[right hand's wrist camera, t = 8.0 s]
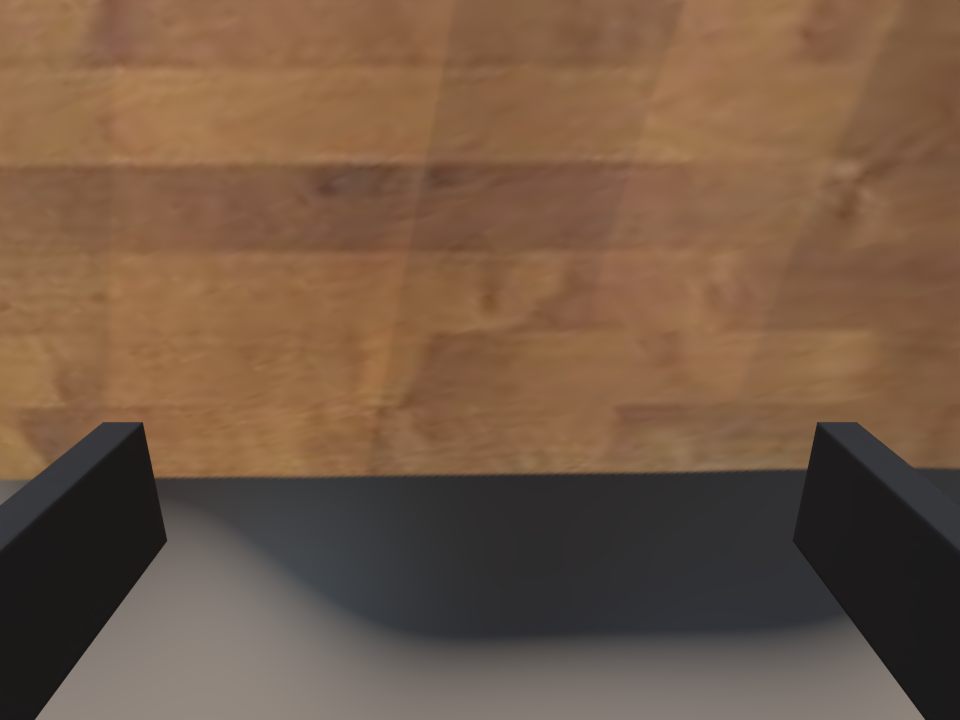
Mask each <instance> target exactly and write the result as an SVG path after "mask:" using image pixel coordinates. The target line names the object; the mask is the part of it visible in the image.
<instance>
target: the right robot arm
mask: <svg viewBox="0 0 960 720" xmlns="http://www.w3.org/2000/svg"><path fill="white" fill-rule="evenodd" d="M166 542H167V538H166V533H165V528H164V523H163V518H162V514H161V509H160V504H159V499H158V494H157V489H156V484H155V480H154V475H153V470H152V465H151V460H150V455H149V451H148V446H147V441H146V436H145V431H144V426H143V422H103V423H102V424H101V425H99V426H98V427H97V428H96V429H94V430H93V431H92V432H91V433H90V434H88V435H87V436H86V437H85V438H83V439H82V440H81V441H80V442H78V443H77V444H76V445H75V446H73V447H72V448H71V449H70V450H68V451H67V452H66V453H65V454H64V455H62V456H61V457H60V458H59V459H57V460H56V461H55V462H54V463H52V464H51V465H50V466H49V467H47V468H46V469H45V470H44V471H42V472H41V473H40V474H39V475H38V476H36V477H35V478H34V479H33V480H31V481H30V482H29V483H28V484H26V485H25V486H24V487H23V488H21V489H20V490H19V491H18V492H17V493H15V494H14V495H13V496H12V497H10V498H9V499H8V500H7V501H5V502H4V503H3V504H2V505H0V720H35V719H36V717H37V716H38V715H39V713H40V712H41V711H42V709H43V708H44V706H45V705H46V704H47V702H48V701H49V700H50V698H51V697H52V696H53V694H54V693H55V692H56V690H57V689H58V688H59V686H60V685H61V684H62V682H63V681H64V679H65V678H66V677H67V675H68V674H69V673H70V671H71V670H72V669H73V667H74V666H75V665H76V663H77V662H78V661H79V659H80V658H81V656H82V655H83V654H84V652H85V651H86V650H87V648H88V647H89V646H90V644H91V643H92V642H93V640H94V639H95V638H96V636H97V635H98V634H99V632H100V631H101V629H102V628H103V627H104V625H105V624H106V623H107V621H108V620H109V619H110V617H111V616H112V615H113V613H114V612H115V611H116V609H117V608H118V607H119V605H120V604H121V602H122V601H123V600H124V598H125V597H126V596H127V594H128V593H129V592H130V590H131V589H132V588H133V586H134V585H135V584H136V582H137V581H138V580H139V578H140V577H141V575H142V574H143V573H144V571H145V570H146V569H147V567H148V566H149V565H150V563H151V562H152V561H153V559H154V558H155V557H156V555H157V554H158V553H159V551H160V550H161V548H162V547H163V546H164V544H165V543H166ZM793 542H794V543H795V544H796V546H797V547H798V548H799V550H800V551H801V553H802V554H803V555H804V557H805V558H806V559H807V561H808V562H809V563H810V565H811V566H812V567H813V569H814V570H815V571H816V573H817V574H818V575H819V577H820V578H821V579H822V581H823V582H824V584H825V585H826V586H827V588H828V589H829V590H830V592H831V593H832V594H833V596H834V597H835V598H836V600H837V601H838V602H839V604H840V605H841V607H842V608H843V609H844V611H845V612H846V613H847V615H848V616H849V617H850V619H851V620H852V621H853V623H854V624H855V625H856V627H857V628H858V630H859V631H860V632H861V634H862V635H863V636H864V638H865V639H866V640H867V642H868V643H869V644H870V646H871V647H872V648H873V650H874V651H875V652H876V654H877V655H878V656H879V658H880V659H881V660H882V662H883V663H884V665H885V666H886V667H887V669H888V670H889V671H890V673H891V674H892V675H893V677H894V678H895V679H896V681H897V682H898V684H899V685H900V686H901V688H902V689H903V690H904V692H905V693H906V694H907V696H908V697H909V698H910V700H911V701H912V702H913V704H914V705H915V706H916V708H917V709H918V711H919V712H920V713H921V714H922V716H923V717H924V719H925V720H960V505H958V504H957V503H956V502H955V501H953V500H952V499H951V498H950V497H948V496H947V495H946V494H945V493H944V492H942V491H941V490H940V489H939V488H937V487H936V486H935V485H934V484H932V483H931V482H930V481H929V480H927V479H926V478H925V477H924V476H922V475H921V474H920V473H919V472H918V471H916V470H915V469H914V468H913V467H911V466H910V465H909V464H908V463H906V462H905V461H904V460H903V459H901V458H900V457H899V456H898V455H896V454H895V453H894V452H893V451H892V450H890V449H889V448H888V447H887V446H885V445H884V444H883V443H882V442H880V441H879V440H878V439H877V438H875V437H874V436H873V435H872V434H870V433H869V432H868V431H867V430H866V429H864V428H863V427H862V426H861V425H859V424H858V423H857V422H817V426H816V431H815V436H814V441H813V446H812V451H811V455H810V460H809V465H808V470H807V475H806V480H805V484H804V489H803V494H802V499H801V504H800V509H799V513H798V518H797V523H796V528H795V533H794V538H793Z"/></svg>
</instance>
